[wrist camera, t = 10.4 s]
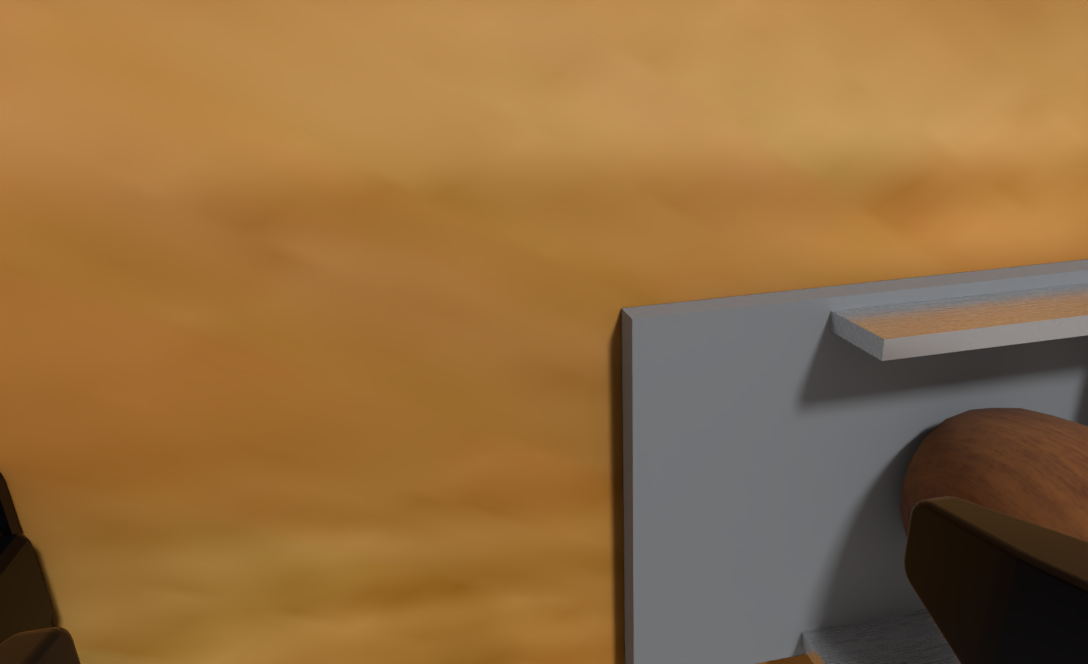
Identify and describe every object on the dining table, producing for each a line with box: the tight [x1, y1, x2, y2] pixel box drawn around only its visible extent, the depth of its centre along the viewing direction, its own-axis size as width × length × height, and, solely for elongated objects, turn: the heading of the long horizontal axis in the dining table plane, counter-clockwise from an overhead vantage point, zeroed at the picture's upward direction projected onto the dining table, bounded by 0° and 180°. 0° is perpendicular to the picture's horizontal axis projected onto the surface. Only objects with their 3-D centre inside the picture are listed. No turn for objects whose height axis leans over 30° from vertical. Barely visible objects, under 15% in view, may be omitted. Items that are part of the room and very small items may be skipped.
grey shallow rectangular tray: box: [622, 259, 1088, 664], centre depth 23 cm, size 17×13×4 cm
